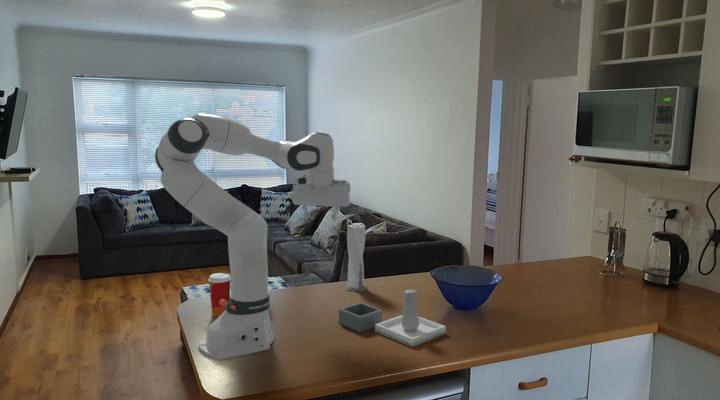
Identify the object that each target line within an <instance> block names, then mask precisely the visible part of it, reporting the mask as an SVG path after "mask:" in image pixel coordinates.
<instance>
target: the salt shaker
mask: <svg viewBox="0 0 720 400" xmlns="http://www.w3.org/2000/svg"><path fill="white" fill-rule="evenodd" d="M418 294H419V293H418V291H417V290H414V289H406V290H405V291H404V293H403V295H404V298H405V304H404V307H403V313H402V315H403V316H402V321H401V324H402V327H403V330H404V331H407V332H414V331H416V330H417V328H418V326H419V318H418V316H419V313H418V312H419V311H418V307H417V301H416V300H417V299H418V296H419V295H418Z"/></svg>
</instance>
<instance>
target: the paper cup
mask: <svg viewBox="0 0 720 400" xmlns="http://www.w3.org/2000/svg"><path fill="white" fill-rule="evenodd" d="M207 281H208V282H209V283H208V284H209V293H210V305H211V306H210V307H211V315H212V316H213V317H214V318H216V319H217V318H218V317H219V316H220V315H221V314H222V313H223V312H224V311H225V310H226V307H223V306H221V305H220V303H219V301H220V300H221V299H224V300H226V301H227V302H228V301H229V299H230V296H231V274H229V273H224V272H218V273H217V272H216V273H212V274H211V275H209V277H208V279H207Z"/></svg>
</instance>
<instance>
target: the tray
mask: <svg viewBox="0 0 720 400" xmlns="http://www.w3.org/2000/svg"><path fill="white" fill-rule="evenodd" d="M402 316H403V314H401V315H398V316H395V317H393V318H388V319H387V320H384V321H383V320H382V322H380V323H378V324H375V327H374V333H378V334H380V335H382V336H385V337H386V338H388V339H391V340H394V341H396V342H399V343H400V344H403V345H406V346H409V347H411V348H413V347H416V346H418V345H421V344H423V343H425V342H428V341H431V340H433V339H436V338H438V337H441V336H443V335H445V334H446V331H447V329H446V327H447V326H446V325H443V324H440V323H438V322H435V321H433V320H429V319H426V318H424V317H421V316H419V315H418V318H419V326H418V328H417V330H416V331H414V332H407V331H404V330H403V327H402V324H401V321H402Z"/></svg>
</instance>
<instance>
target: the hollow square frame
mask: <svg viewBox="0 0 720 400" xmlns="http://www.w3.org/2000/svg"><path fill="white" fill-rule="evenodd" d="M380 322H383V310H382V309H380V308H378V307H376V306H372V305H370V304H367V303H364V302H358V303H354V304H352V305H349V306H345V307H342V308H339V309H338V324H340V325H342V326H344V327H346V328H349V329H351V330H353V331H356V332H357V333H361V332H364V331H367V330H370V329H374V328H375V324H378V323H380Z"/></svg>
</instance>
